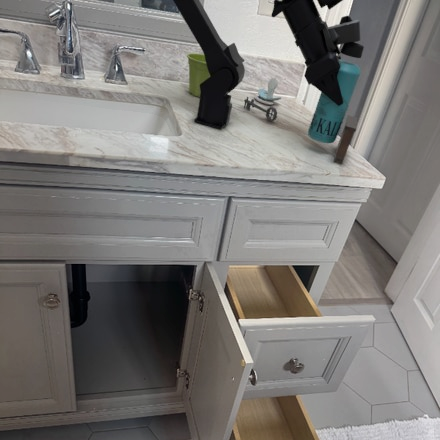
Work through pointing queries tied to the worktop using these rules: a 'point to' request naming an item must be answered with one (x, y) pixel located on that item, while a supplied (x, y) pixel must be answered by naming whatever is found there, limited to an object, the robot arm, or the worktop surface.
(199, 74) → the plant pot
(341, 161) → the dark brown flat block
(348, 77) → the beverage bottle
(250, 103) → the key
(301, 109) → the worktop surface
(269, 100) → the pacifier
